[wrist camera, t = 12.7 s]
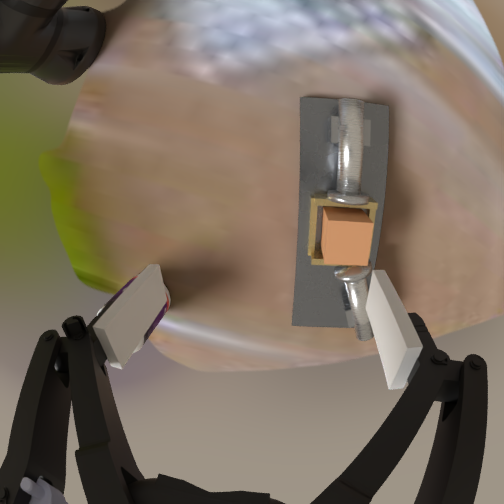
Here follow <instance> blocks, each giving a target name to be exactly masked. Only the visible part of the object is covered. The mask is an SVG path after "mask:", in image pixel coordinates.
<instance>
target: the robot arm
mask: <svg viewBox="0 0 504 504" xmlns="http://www.w3.org/2000/svg"><path fill="white" fill-rule="evenodd" d="M66 1H68V0H0V73H30V74H32V75H34V76H35V77H37V78H39V79H41V80H43V81H45V82H47V83H48V84H53V85H65V84H68V83H71V82H73V81H74V80H76V79H77V78H78V77H80V76H81V75H82V74H83V73H84V72H85V71H86V70H87V69H88V67H89V66H90V65H91V63H92V62H93V61H94V59H95V57H96V56H97V54H98V52H99V50H100V48H101V45H102V43H103V39H104V36H105V29H106V23H105V18H104V16H103V14H102V13H101V12H100V11H98V10H96V9H93V8H91V7H87V6H77V7H62V6H63V5H64V4H65V3H66ZM61 7H62V8H61ZM166 302H167V297H166V292H165V288H164V284H163V279H162V274H161V270H160V265H158V264H149V265H148V266H147V267H146V268H145V269H144V270H143V271H142V272H141V273H140V274H139V276H138V277H137V278H136V279H135V280H134V281H133V282H132V283H131V284H130V285H129V286H128V287H127V288H126V290H125V291H124V292H123V293H122V294H121V295H120V296H119V297H118V298H117V299H116V301H112V302H110V303H109V304H107V305H106V306H105V307H104V308H103V309H102V310H101V311H100V312H99V313H98V316H96V317H95V318H94V319H93V320H92V321H91V323H90V324H89V325H88V326H87V327H86V324H85V322H84V320H83V317H81V316H77V315H76V316H72V317H69V318H68V319H66V320H65V321H64V322H63V324H62V328H63V330H64V332H65V334H66V336H67V337H60V336H59V334H58V332H57V331H56V330H48V331H46V332H44V333H43V334H42V335H41V336H40V338H39V341H38V343H37V346H36V348H35V351H34V354H33V356H32V359H31V362H30V365H29V368H28V371H27V373H26V377H25V380H24V383H23V386H22V389H21V393H20V397H19V400H18V404H17V408H16V412H15V416H14V420H13V424H12V429H11V434H10V439H9V446H8V451H7V455H6V457H5V460H4V462H3V464H2V466H1V468H0V504H68V503H67V502H66V501H65V497H64V496H63V494H64V488H65V477H66V450H67V436H68V425H69V416H70V415H69V414H70V408H71V400H72V406H73V413H74V420H75V425H76V431H77V437H78V442H79V450H76V451H75V457H76V462H77V466H78V470H79V474H80V478H81V482H82V485H83V489H84V492H85V495H86V498H87V501H88V504H285V503H283V502H280V501H278V500H275V499H271V498H270V494H269V493H257V492H246V491H232V492H208V491H206V490H203V489H201V488H199V487H196V486H194V485H193V484H190V483H188V482H186V481H184V480H180V479H176V478H173V477H169V476H166V475H162V474H159V475H158V477H157V478H150V479H145V478H144V476H143V475H142V474H141V472H140V471H139V469H138V467H137V465H136V462H135V460H134V457H133V455H132V452H131V449H130V447H129V444H128V442H127V439H126V436H125V433H124V430H123V427H122V424H121V421H120V417H119V414H118V411H117V407H116V404H115V400H114V397H113V393H112V389H111V385H110V381H109V377H108V373H107V368H106V366H105V364H104V363H105V361H106V360H107V359H108V361H109V363H110V365H111V366H112V367H116V368H120V369H123V368H124V366H125V364H126V363H127V361H128V360H129V358H130V357H131V355H132V353H133V352H134V350H135V349H136V347H137V346H138V344H139V342H140V341H141V339H142V338H143V336H144V335H145V333H146V332H147V330H148V329H149V327H150V326H151V324H152V323H153V321H154V320H155V318H156V317H157V315H158V314H159V312H160V311H161V309H162V308H163V306H164V305H165V303H166ZM366 311H367V314H368V317H369V320H370V324H371V327H372V330H373V333H374V337H375V340H376V343H377V347H378V350H379V354H380V357H381V361H382V364H383V368H384V372H385V376H386V380H387V384H388V388H389V390H390V389H400V388H404V386H405V384H406V382H407V380H408V383H409V385H408V387H407V388H406V390H405V391H404V393H403V395H402V396H401V398H400V399H399V401H398V402H397V404H396V405H395V407H394V408H393V410H392V411H391V413H390V414H389V416H388V417H387V418H386V420H385V421H384V423H383V424H382V425H381V427H380V428H379V430H378V431H377V432H376V434H375V435H374V436H373V437H372V439H371V440H370V441H369V443H368V444H367V445H366V446H365V448H364V449H363V450H362V451H361V452H360V454H359V455H358V456H357V457H356V458H355V459H354V461H353V462H352V463H351V464H350V465H349V466H348V467H347V468H346V470H345V471H344V472H343V473H342V474H341V475H340V476H339V477H338V478H337V479H335V481H333V482H332V483H331V484H330V485H329V486H328V487H327V488H326V489H325V490H324V491H323V492H322V493H321V494H320V495H319V496H318V497H317V498H316V499H315V500H314V501H313V502H311V503H310V504H369V503H370V502H371V500H372V497H373V496H374V495H375V493H376V492H377V491H378V490H379V488H380V487H381V486H382V484H383V483H384V482H385V481H386V479H387V478H388V476H389V475H390V474H391V472H392V471H393V469H394V468H395V467H396V465H397V464H398V462H399V461H400V459H401V458H402V456H403V455H404V453H405V452H406V450H407V448H408V447H409V445H410V444H411V442H412V440H413V439H414V437H415V435H416V434H417V432H418V430H419V428H420V427H421V425H422V423H423V421H424V419H425V418H426V415H427V414H428V412H429V410H430V408H431V406H432V404H433V402H434V401H440V402H442V403H441V410H440V415H439V420H438V425H437V430H436V434H435V439H434V443H433V447H432V451H431V454H430V458H429V462H428V465H427V468H426V471H425V475H424V478H423V481H422V484H421V487H420V489H419V492H418V495H417V497H416V500H415V502H414V504H474V500H475V496H476V492H477V488H478V483H479V478H480V473H481V468H482V461H483V455H484V448H485V438H486V427H487V409H488V406H487V405H488V380H487V365H486V362H485V361H484V359H483V358H481V357H480V356H478V355H476V354H471V355H468V356H467V357H466V358H465V360H464V361H463V362H461V361H454V360H450V358H449V356H448V355H447V354H446V353H445V352H443V351H442V350H438V349H437V347H436V345H435V343H434V341H433V339H432V337H431V335H430V333H429V332H428V329H427V327H426V326H425V323H424V321H423V320H422V318H421V317H420V316H419V315H418V314H416V313H407V312H406V310H405V308H404V306H403V304H402V302H401V300H400V298H399V296H398V294H397V292H396V290H395V288H394V286H393V285H392V283H391V281H390V279H389V277H388V275H387V274H386V272H385V270H373V271H372V277H371V283H370V288H369V293H368V298H367V303H366Z"/></svg>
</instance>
